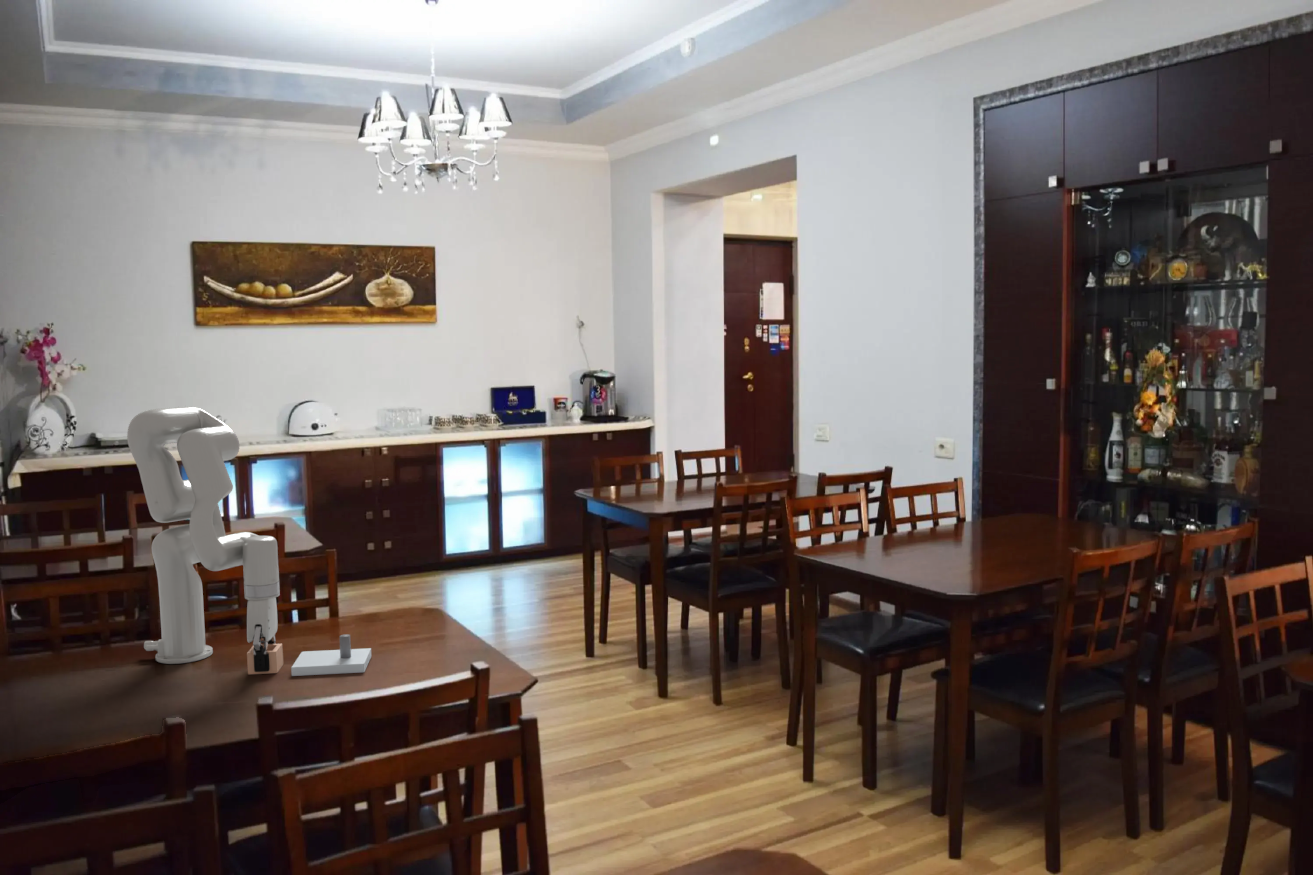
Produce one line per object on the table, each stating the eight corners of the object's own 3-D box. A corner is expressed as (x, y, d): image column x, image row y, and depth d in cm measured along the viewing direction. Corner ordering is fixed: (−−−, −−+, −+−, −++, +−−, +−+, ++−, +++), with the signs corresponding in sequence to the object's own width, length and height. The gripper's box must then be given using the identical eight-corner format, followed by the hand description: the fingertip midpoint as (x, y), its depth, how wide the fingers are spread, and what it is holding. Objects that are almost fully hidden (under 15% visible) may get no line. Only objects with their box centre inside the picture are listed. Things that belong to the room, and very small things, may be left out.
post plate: (291, 675, 234) (290, 645, 234) (302, 659, 246) (301, 630, 246) (364, 672, 237) (363, 642, 236) (371, 656, 248) (370, 627, 248)
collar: (247, 674, 236) (246, 652, 235) (254, 665, 242) (253, 644, 242) (277, 672, 237) (276, 651, 236) (283, 664, 243) (282, 643, 243)
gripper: (254, 582, 246) (257, 655, 247) (234, 600, 229) (238, 679, 230) (287, 580, 247) (290, 654, 248) (270, 598, 230) (274, 677, 231)
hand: (265, 665), depth 239 cm, fingers closed on collar, 6 cm apart
